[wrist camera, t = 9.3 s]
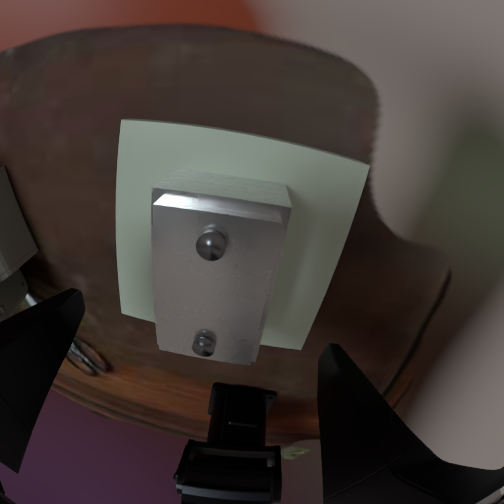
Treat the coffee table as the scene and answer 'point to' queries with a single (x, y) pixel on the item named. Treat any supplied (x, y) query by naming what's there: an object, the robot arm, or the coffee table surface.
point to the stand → (249, 166)
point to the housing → (215, 262)
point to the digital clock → (12, 249)
